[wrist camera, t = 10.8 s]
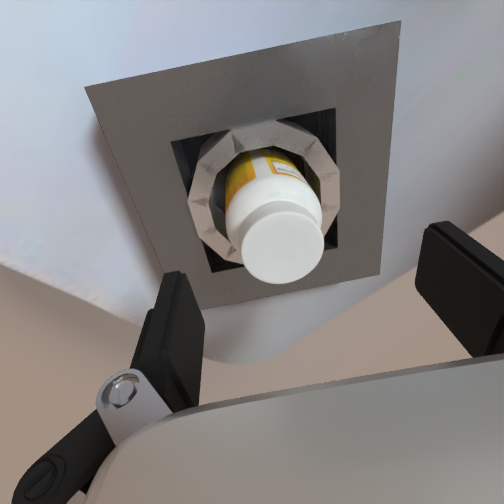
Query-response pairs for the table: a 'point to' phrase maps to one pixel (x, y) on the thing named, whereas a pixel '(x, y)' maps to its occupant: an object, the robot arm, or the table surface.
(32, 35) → the table surface
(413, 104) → the table surface
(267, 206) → the supplement bottle
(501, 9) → the table surface
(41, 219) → the table surface
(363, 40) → the bore block
